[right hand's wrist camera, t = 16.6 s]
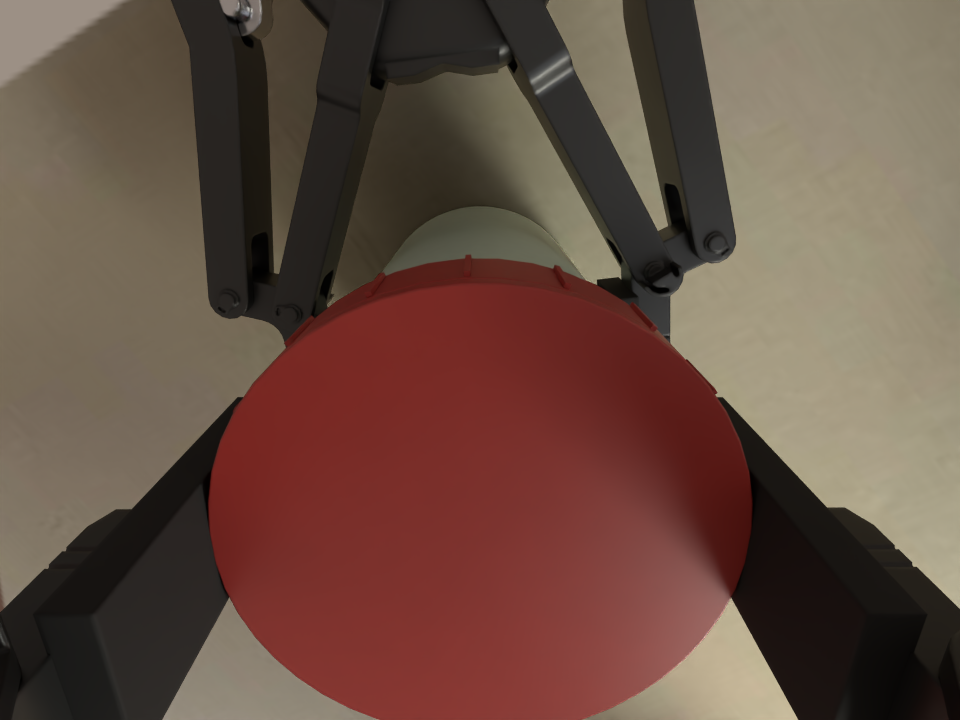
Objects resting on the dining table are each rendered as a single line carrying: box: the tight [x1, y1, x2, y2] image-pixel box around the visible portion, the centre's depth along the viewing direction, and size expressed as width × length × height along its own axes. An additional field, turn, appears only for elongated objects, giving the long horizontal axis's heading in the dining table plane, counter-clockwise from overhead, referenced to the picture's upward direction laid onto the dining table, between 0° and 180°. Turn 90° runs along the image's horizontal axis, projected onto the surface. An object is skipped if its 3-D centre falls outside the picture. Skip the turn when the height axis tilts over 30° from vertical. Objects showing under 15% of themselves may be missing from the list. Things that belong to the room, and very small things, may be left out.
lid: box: [208, 254, 753, 720], centre depth 11 cm, size 10×10×2 cm
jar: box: [381, 206, 585, 280], centre depth 18 cm, size 9×9×16 cm
